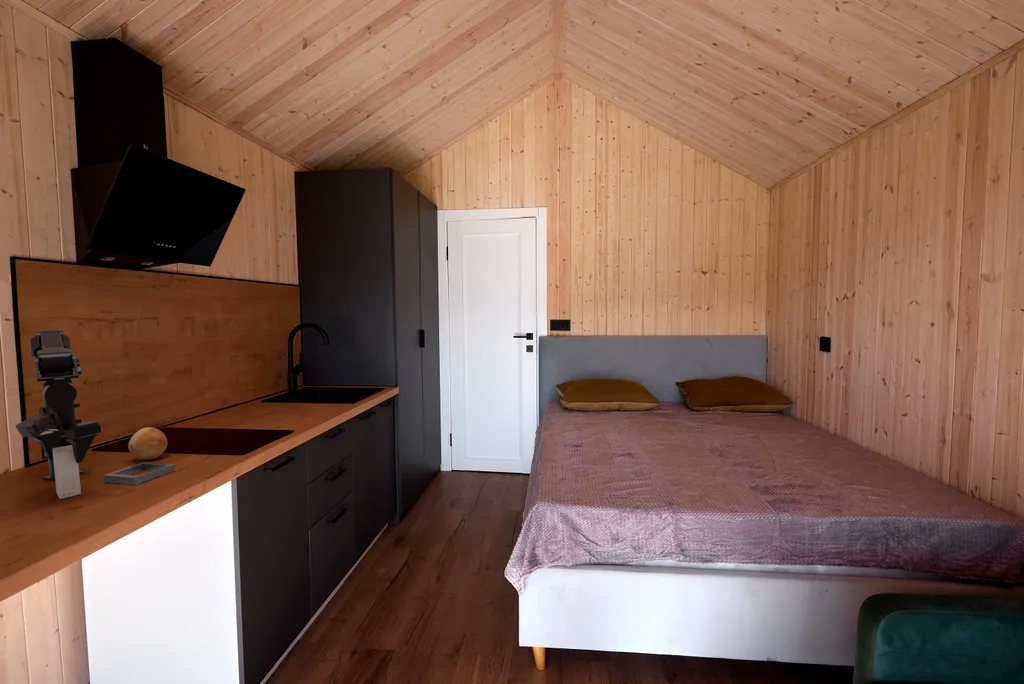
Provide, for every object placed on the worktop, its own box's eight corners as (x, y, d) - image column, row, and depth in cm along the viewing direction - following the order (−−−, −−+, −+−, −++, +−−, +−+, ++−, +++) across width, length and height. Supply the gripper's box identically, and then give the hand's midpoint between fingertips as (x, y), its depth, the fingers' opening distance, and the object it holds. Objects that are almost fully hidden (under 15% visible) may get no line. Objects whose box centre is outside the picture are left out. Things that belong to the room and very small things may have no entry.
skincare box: (81, 494, 125) (77, 448, 124) (59, 499, 122) (54, 452, 121) (78, 488, 129) (73, 444, 128) (56, 493, 126) (51, 448, 125)
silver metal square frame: (103, 482, 134) (103, 475, 133) (144, 468, 145) (144, 461, 144) (136, 485, 131) (135, 478, 130) (175, 470, 142) (174, 464, 141)
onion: (121, 464, 149) (118, 432, 148) (147, 454, 159) (144, 424, 158) (151, 464, 148) (148, 432, 147) (175, 454, 158) (173, 423, 157)
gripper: (-7, 406, 118) (0, 469, 120) (49, 409, 114) (56, 474, 115) (47, 397, 129) (52, 455, 130) (100, 399, 124) (106, 459, 126)
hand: (65, 461), depth 125 cm, fingers open, 9 cm apart
